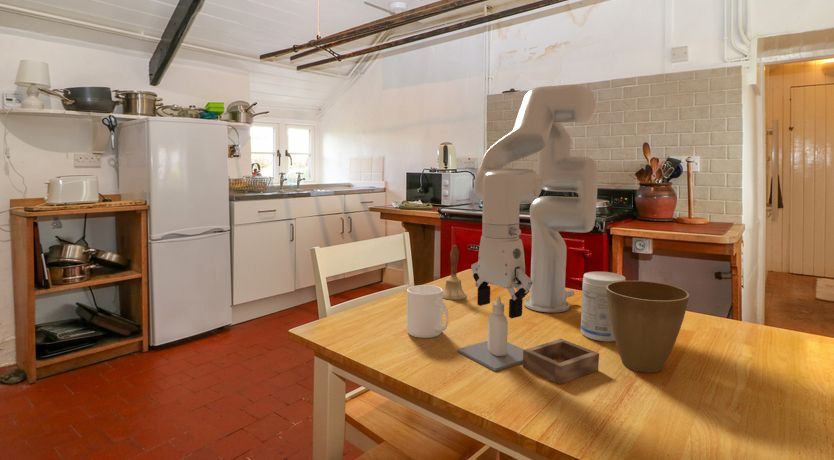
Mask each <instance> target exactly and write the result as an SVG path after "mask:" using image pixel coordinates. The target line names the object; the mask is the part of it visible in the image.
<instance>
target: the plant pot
mask: <svg viewBox="0 0 834 460" xmlns="http://www.w3.org/2000/svg"><path fill="white" fill-rule="evenodd" d="M606 290H607V300H608V308H609V315H610V320H611V325H612V330H613V334H614V338H615V341H614V342H615V344H616V347H617V351H618V354H619V357H620V360H621V362H622V365H624V366H625V367H626V368H628V369H631V370H633V371H635V372H641V373H658V372H661V371H662V370H663V368H664V366H665V364H666V362H667V361H668V359H669V357H670V354H671V353H672V350H673V348H674V345H675V343H676V341H677V338H678V336H679V334H680V331H681V328H682V324H683V322H684V318H685V314H686V311H687V308H688V307H687V306H688V303H689V299H690V293H689V291H687V290H686V289H683V288H681V287H680V286H679V287H678V286H676V285H673V284H669V283H663V282H657V281H650V280H649V281H648V280H626V281H617V282H612V283H610V284H608V285H607V286H606Z"/></svg>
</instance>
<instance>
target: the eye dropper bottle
mask: <svg viewBox="0 0 834 460" xmlns="http://www.w3.org/2000/svg"><path fill="white" fill-rule="evenodd" d="M508 324H509V323H508V319H507V317H506V315H505V303H503V301H501V297H499V296H496V299H495V302H493V303H492V312H491V313H490V314H489V316H488V327H487V331H488V332H487V341H488V350H489V352H490V353H492V354H493V355H495V356H506V355H507V342H508V333H509V332H508V331H509V330H508V329H509V328H508Z"/></svg>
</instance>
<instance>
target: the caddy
mask: <svg viewBox="0 0 834 460" xmlns="http://www.w3.org/2000/svg"><path fill="white" fill-rule="evenodd" d="M560 358H562V359H563V360H564V361H562V362H559V361H557V360H558V359H560ZM599 361H600V352H596V351H594V350H591V349H589V348H586V347H583V346H581V345H579V344H576V343H574V342H571V341H569V340H565V339H563V338H559V339H557V340H552V341H549V342H546V343H543V344H538V345H536V346H532V347H528V348H526V349H524V350H523V363H522V367H523V368H525V369H527V370H528V371H530V372H531V371H532V372H533V373H535V374H537V375H539V376H542V377H543V378H545V379H548V380H550V381H551V382H554V383H556V384H557V385H563V384H565V383H568V382H570V381H573V380H575V379H577V378H581V377H584V376H586V375H589V374H591V373H595V372H596V371H599V365H600V364H599V363H600V362H599Z"/></svg>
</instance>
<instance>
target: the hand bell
mask: <svg viewBox="0 0 834 460" xmlns="http://www.w3.org/2000/svg"><path fill="white" fill-rule="evenodd" d="M451 247H452V248H451V250H450V253H449V254H450V256H449V257H450V265H451V268H450V269H451V270H450V271H451V272H450V276H449V277H447V278H446V280H445V286H444V288H443V299H444V300H449V301H457V300H458V301H459V300H464V299H466V298H467V293H465V292H464V290H463V286H462V281H461V278H459V277H457V274H458V272H457V270H458V269H457V265H458V262H459V259H460V258H459V257H460V255H459V249H458V246H457V245H456V244H453V245H452V246H451Z"/></svg>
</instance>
